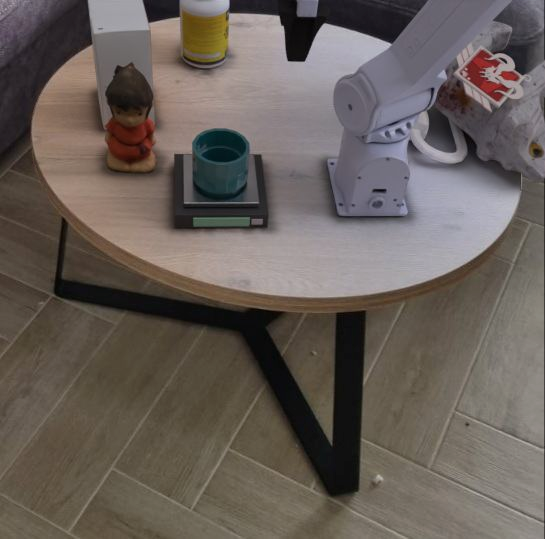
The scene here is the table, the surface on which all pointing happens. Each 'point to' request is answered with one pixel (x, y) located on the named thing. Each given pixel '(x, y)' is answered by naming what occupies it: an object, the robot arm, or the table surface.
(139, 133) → the figurine
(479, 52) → the decorative emblem
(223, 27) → the pill bottle
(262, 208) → the scale base
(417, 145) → the white looped part
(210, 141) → the cup
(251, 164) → the pan
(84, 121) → the table surface
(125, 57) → the small box
